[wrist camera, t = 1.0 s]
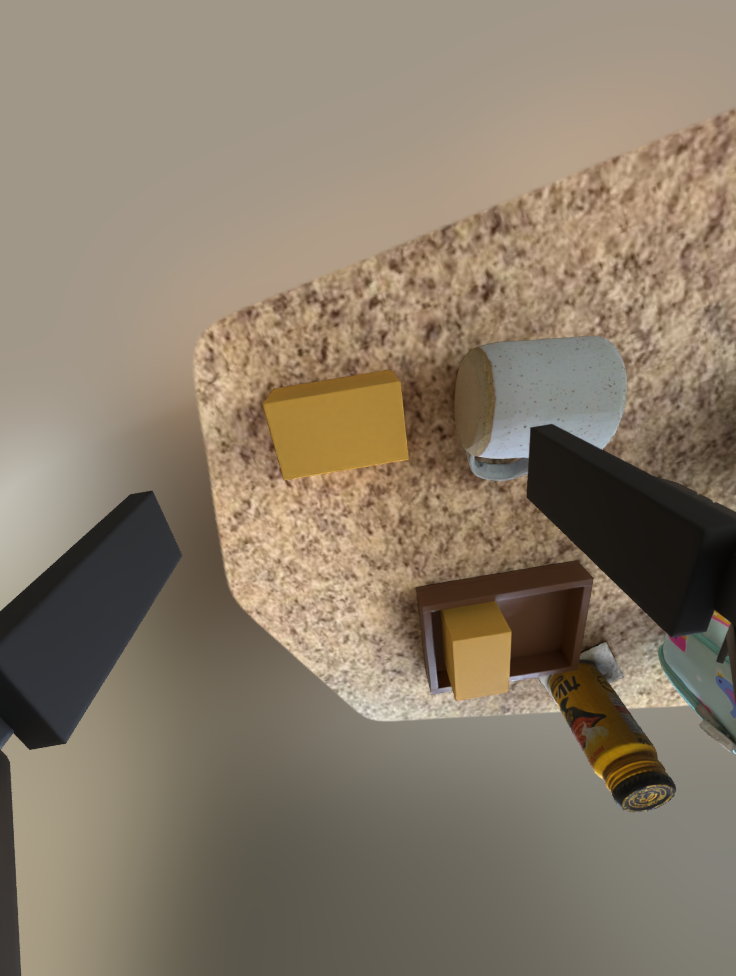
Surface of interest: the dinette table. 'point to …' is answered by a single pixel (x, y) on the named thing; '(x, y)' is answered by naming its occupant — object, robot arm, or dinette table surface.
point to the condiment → (610, 732)
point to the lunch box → (704, 678)
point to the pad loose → (337, 424)
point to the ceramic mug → (536, 397)
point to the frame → (515, 618)
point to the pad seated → (476, 650)
